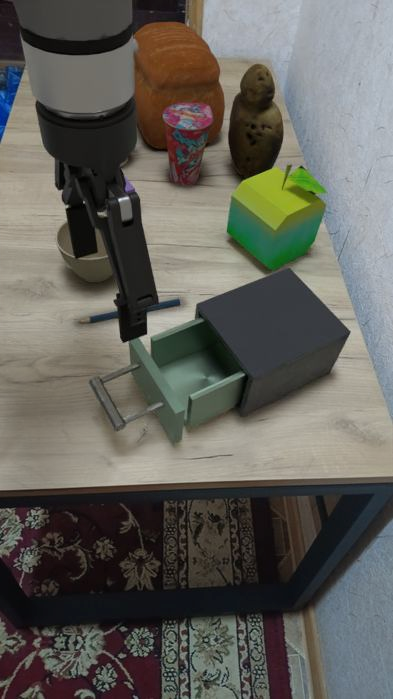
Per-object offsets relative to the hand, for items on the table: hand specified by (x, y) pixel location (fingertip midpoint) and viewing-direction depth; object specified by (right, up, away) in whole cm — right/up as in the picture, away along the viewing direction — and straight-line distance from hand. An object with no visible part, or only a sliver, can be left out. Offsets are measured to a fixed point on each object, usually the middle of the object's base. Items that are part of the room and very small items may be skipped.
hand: (108, 292), depth 54 cm
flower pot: (-6, +6, +22) cm, 24 cm away
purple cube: (-4, +19, +32) cm, 37 cm away
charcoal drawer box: (+18, -8, +14) cm, 24 cm away
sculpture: (+19, +27, +40) cm, 52 cm away
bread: (+4, +42, +50) cm, 65 cm away
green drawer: (+7, -12, +9) cm, 16 cm away
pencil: (0, -1, +18) cm, 18 cm away
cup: (+7, +26, +39) cm, 48 cm away
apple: (+22, +11, +29) cm, 38 cm away
